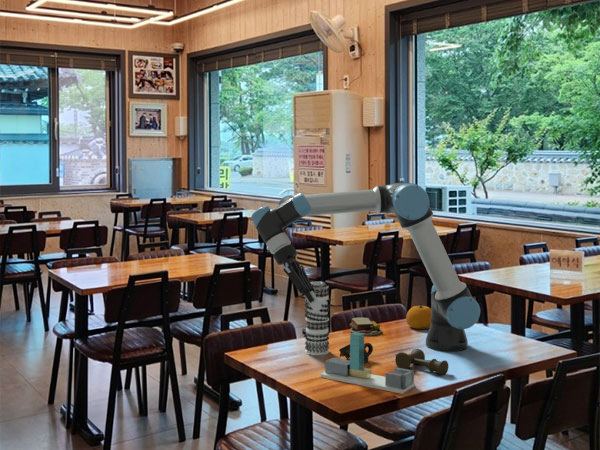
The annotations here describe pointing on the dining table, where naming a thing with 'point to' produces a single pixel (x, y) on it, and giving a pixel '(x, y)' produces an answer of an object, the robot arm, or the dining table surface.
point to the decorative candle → (317, 322)
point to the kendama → (420, 362)
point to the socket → (399, 378)
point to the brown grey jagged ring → (346, 352)
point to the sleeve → (337, 366)
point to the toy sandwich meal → (365, 326)
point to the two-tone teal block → (357, 357)
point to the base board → (367, 382)
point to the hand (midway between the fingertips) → (318, 310)
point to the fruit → (419, 317)
